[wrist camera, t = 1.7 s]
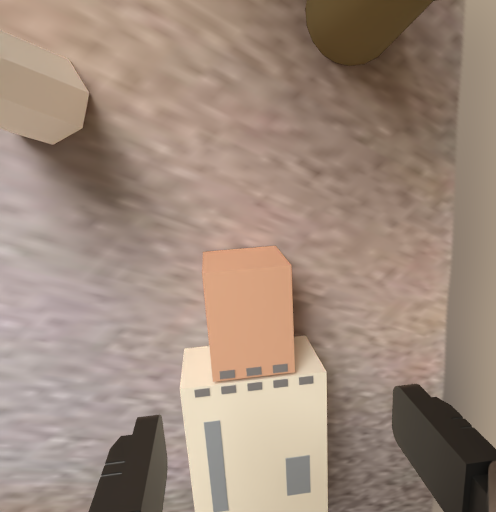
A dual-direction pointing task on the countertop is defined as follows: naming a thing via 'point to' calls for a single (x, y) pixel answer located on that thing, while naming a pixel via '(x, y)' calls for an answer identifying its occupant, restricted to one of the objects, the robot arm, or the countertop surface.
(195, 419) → the cream box
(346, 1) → the brown pawn
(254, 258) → the orange box
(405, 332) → the countertop surface
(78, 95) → the salt shaker
